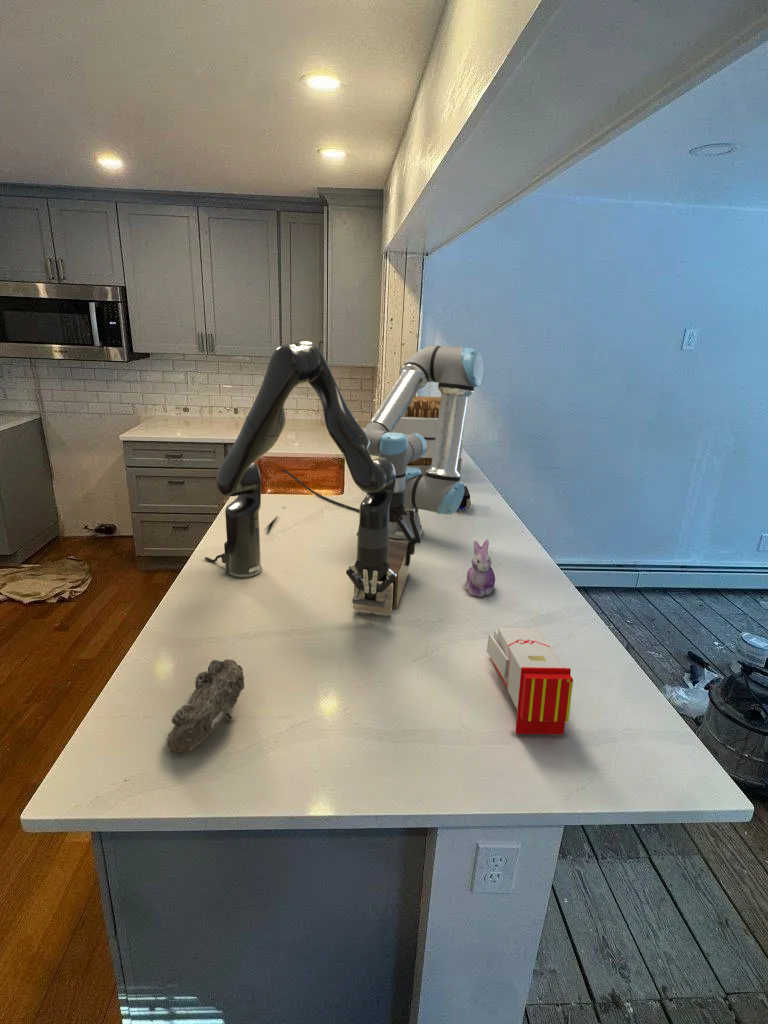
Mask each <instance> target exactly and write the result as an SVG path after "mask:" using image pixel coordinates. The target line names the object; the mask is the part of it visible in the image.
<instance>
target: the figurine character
mask: <svg viewBox="0 0 768 1024" xmlns="http://www.w3.org/2000/svg"><path fill="white" fill-rule="evenodd" d="M464 486H465V487H464V489H465V490H464V495H463V499H462V501H461V504H460V506H459V507H458V509H457V510H456V512H460V510H463V511H464V513H466V512H467V509H470V508H471V505H472V504H471V501H472V500H471V494H470V491H469V488H468V486H467V485H464ZM466 508H467V509H466Z"/></svg>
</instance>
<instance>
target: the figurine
mask: <svg viewBox="0 0 768 1024" xmlns="http://www.w3.org/2000/svg"><path fill="white" fill-rule="evenodd" d="M489 545H490V541H489V539H486V540H484V542H483V543H482V545H480V543H479V542H478V541H477V540H473V556H472V558H471V564H472V566H471V567H470V568H469V569H468V570H467V573H466V581H465V589H466V590H467V592H468V593H469V595H471V596H474V597H484V596H488V595H490V594H491V593H492V592H493V590H494V587H495V583H496V575H495V572H494V569H493V568H492V563H493V562H492V559H491V556H490V555H489Z"/></svg>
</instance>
